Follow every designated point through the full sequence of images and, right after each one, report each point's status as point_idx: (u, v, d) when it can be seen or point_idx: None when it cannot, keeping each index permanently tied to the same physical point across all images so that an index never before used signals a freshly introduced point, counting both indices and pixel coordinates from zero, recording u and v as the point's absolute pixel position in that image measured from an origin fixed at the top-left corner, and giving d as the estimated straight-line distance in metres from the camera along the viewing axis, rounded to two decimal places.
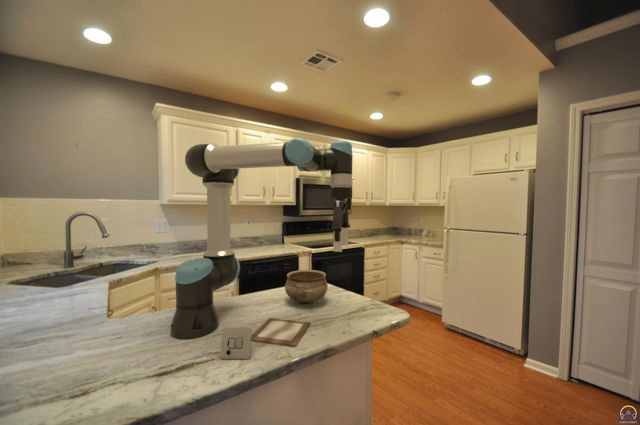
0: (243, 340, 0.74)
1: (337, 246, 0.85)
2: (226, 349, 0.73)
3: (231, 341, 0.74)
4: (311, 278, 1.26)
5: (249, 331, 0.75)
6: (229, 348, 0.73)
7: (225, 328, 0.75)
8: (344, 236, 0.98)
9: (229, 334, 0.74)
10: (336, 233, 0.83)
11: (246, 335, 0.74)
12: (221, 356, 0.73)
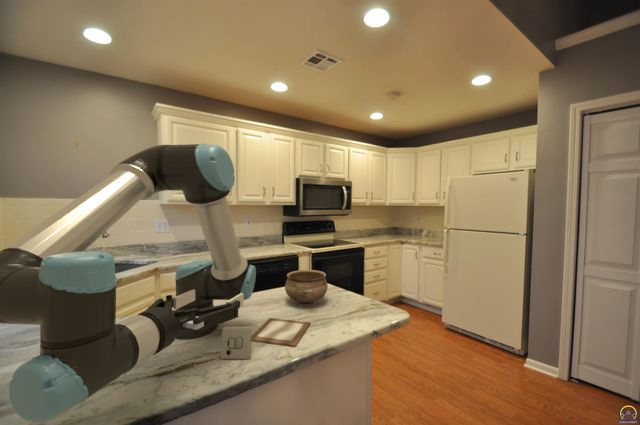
0: (243, 340, 0.74)
1: None
2: (226, 349, 0.73)
3: (231, 341, 0.74)
4: (311, 278, 1.26)
5: (249, 331, 0.75)
6: (229, 348, 0.73)
7: (225, 328, 0.75)
8: None
9: (229, 334, 0.74)
10: None
11: (246, 335, 0.74)
12: (221, 356, 0.73)
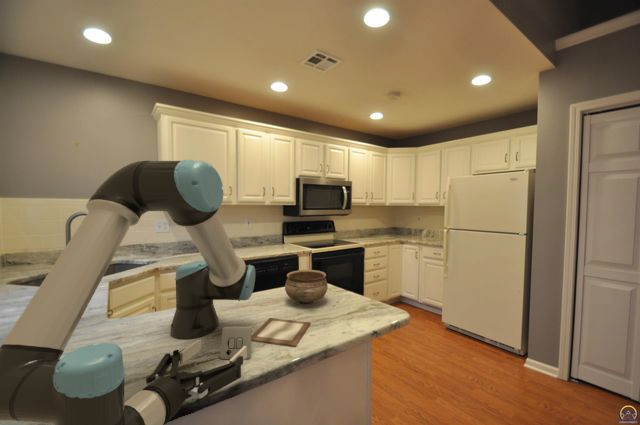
0: (243, 340, 0.74)
1: None
2: (226, 349, 0.73)
3: (231, 341, 0.74)
4: (311, 278, 1.26)
5: (249, 331, 0.75)
6: (229, 348, 0.73)
7: (225, 328, 0.75)
8: None
9: (229, 334, 0.74)
10: None
11: (246, 335, 0.74)
12: (221, 356, 0.73)
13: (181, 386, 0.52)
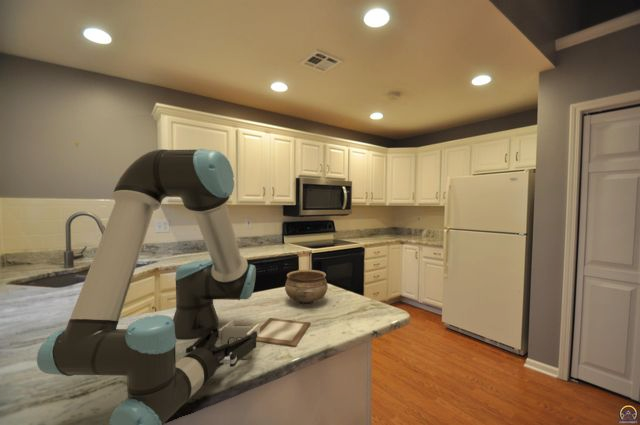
0: None
1: None
2: None
3: (231, 341, 0.74)
4: (311, 278, 1.26)
5: None
6: None
7: (224, 328, 0.75)
8: None
9: (229, 334, 0.74)
10: None
11: None
12: None
13: (214, 357, 0.62)
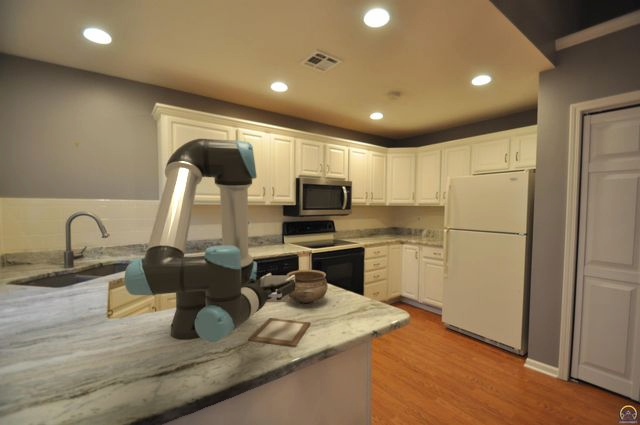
0: None
1: None
2: None
3: None
4: (311, 278, 1.26)
5: None
6: None
7: (265, 276, 0.86)
8: None
9: (269, 281, 0.85)
10: None
11: None
12: None
13: None
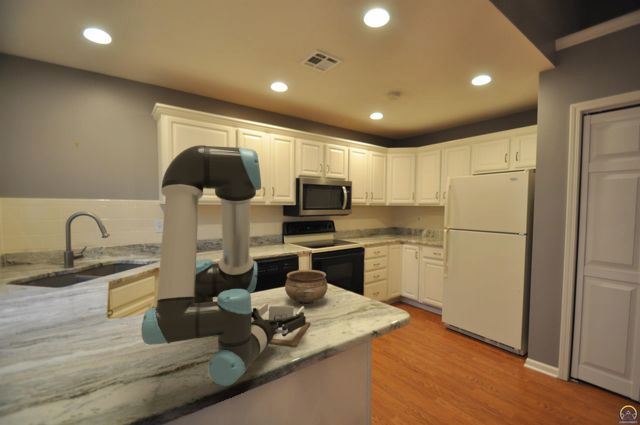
0: (287, 317, 0.88)
1: None
2: None
3: (277, 318, 0.88)
4: (311, 278, 1.26)
5: (291, 309, 0.88)
6: None
7: (271, 307, 0.89)
8: None
9: (275, 312, 0.88)
10: None
11: (289, 313, 0.88)
12: None
13: None
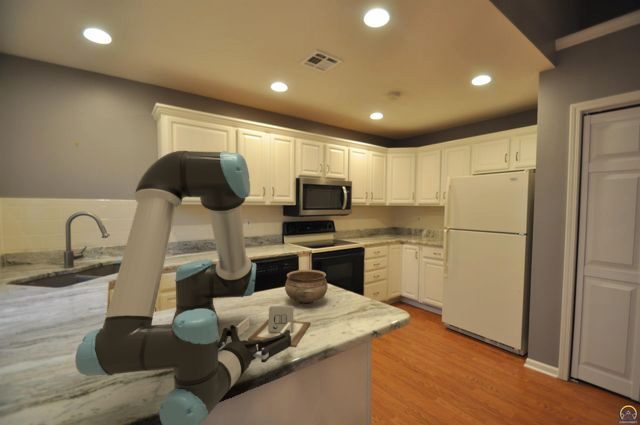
0: (287, 317, 0.88)
1: None
2: (273, 324, 0.87)
3: (277, 318, 0.88)
4: (311, 278, 1.26)
5: (291, 309, 0.88)
6: (275, 323, 0.87)
7: (271, 307, 0.89)
8: None
9: (275, 312, 0.88)
10: None
11: (289, 313, 0.88)
12: (269, 330, 0.87)
13: None
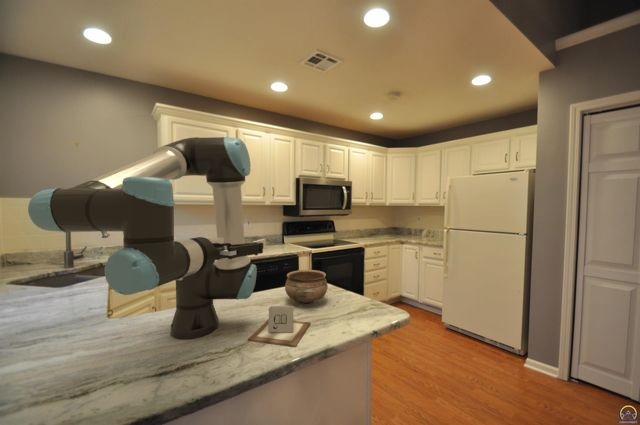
0: (287, 317, 0.88)
1: None
2: (273, 324, 0.87)
3: (277, 318, 0.88)
4: (311, 278, 1.26)
5: (291, 309, 0.88)
6: (275, 323, 0.87)
7: (271, 307, 0.89)
8: None
9: (275, 312, 0.88)
10: None
11: (289, 313, 0.88)
12: (269, 330, 0.87)
13: None
